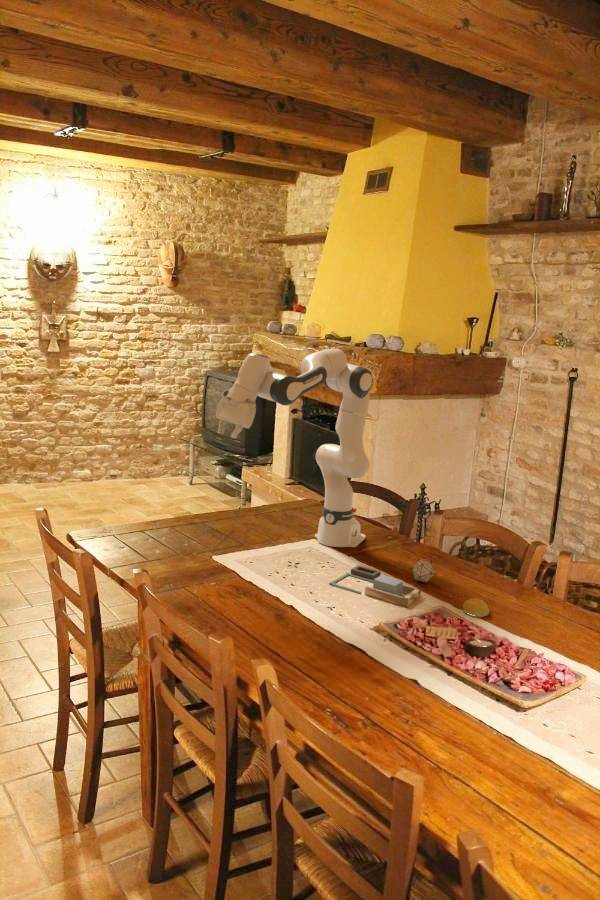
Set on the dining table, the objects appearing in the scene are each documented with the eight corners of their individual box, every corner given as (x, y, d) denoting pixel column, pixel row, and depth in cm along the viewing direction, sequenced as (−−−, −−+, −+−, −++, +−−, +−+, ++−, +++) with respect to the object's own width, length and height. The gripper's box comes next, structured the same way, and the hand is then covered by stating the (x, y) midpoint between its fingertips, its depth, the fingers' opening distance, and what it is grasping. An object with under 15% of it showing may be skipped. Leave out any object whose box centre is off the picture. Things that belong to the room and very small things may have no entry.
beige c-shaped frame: (380, 584, 254) (380, 577, 253) (420, 596, 246) (421, 589, 246) (364, 594, 244) (365, 587, 244) (405, 606, 237) (406, 599, 236)
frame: (347, 574, 262) (347, 573, 262) (377, 582, 255) (377, 581, 255) (328, 584, 251) (328, 583, 251) (359, 593, 245) (359, 592, 244)
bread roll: (463, 616, 233) (464, 604, 232) (462, 605, 241) (463, 594, 241) (490, 620, 232) (491, 608, 231) (488, 609, 240) (489, 597, 239)
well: (357, 570, 266) (358, 565, 266) (380, 576, 261) (380, 571, 261) (350, 574, 262) (351, 569, 261) (373, 580, 257) (373, 575, 256)
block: (380, 588, 251) (382, 574, 250) (401, 595, 247) (403, 581, 246) (372, 593, 246) (373, 579, 245) (393, 600, 242) (395, 585, 241)
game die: (425, 591, 261) (444, 570, 260) (420, 590, 253) (439, 569, 252) (407, 573, 265) (425, 553, 264) (401, 572, 257) (420, 551, 256)
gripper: (264, 405, 241) (248, 443, 241) (235, 397, 258) (220, 434, 257) (249, 397, 238) (233, 437, 237) (221, 390, 255) (205, 427, 254)
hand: (226, 435), depth 247 cm, fingers open, 8 cm apart
